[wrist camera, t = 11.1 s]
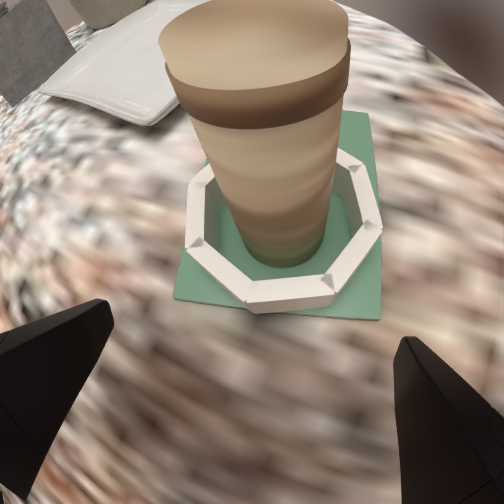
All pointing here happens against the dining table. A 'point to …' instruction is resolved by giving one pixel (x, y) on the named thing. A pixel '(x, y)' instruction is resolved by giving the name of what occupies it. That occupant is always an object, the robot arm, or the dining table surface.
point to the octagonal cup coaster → (307, 274)
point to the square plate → (124, 67)
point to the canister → (105, 11)
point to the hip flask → (29, 48)
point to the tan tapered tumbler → (265, 112)
